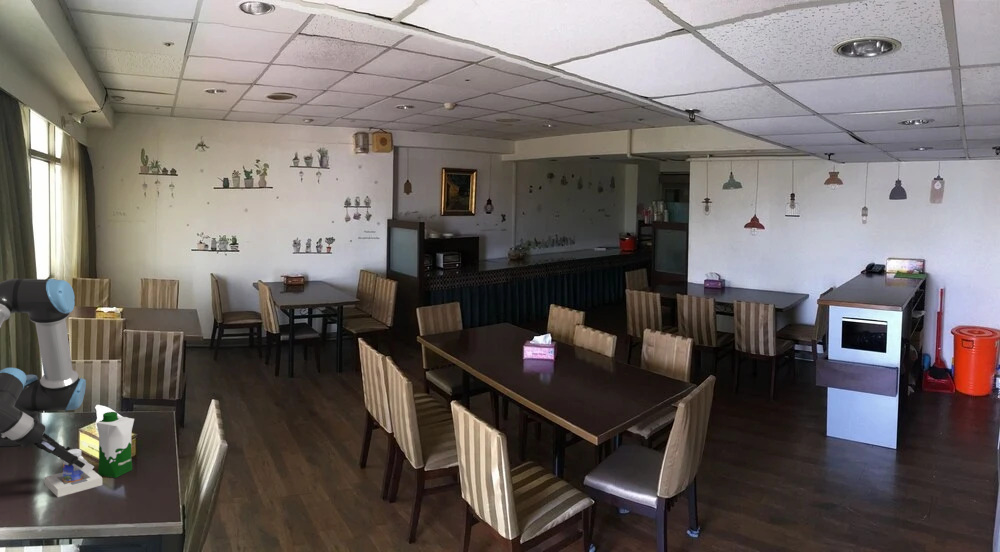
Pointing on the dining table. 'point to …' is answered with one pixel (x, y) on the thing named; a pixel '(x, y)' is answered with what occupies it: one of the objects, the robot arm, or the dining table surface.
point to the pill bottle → (72, 469)
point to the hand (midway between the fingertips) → (86, 467)
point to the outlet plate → (72, 483)
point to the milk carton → (114, 445)
